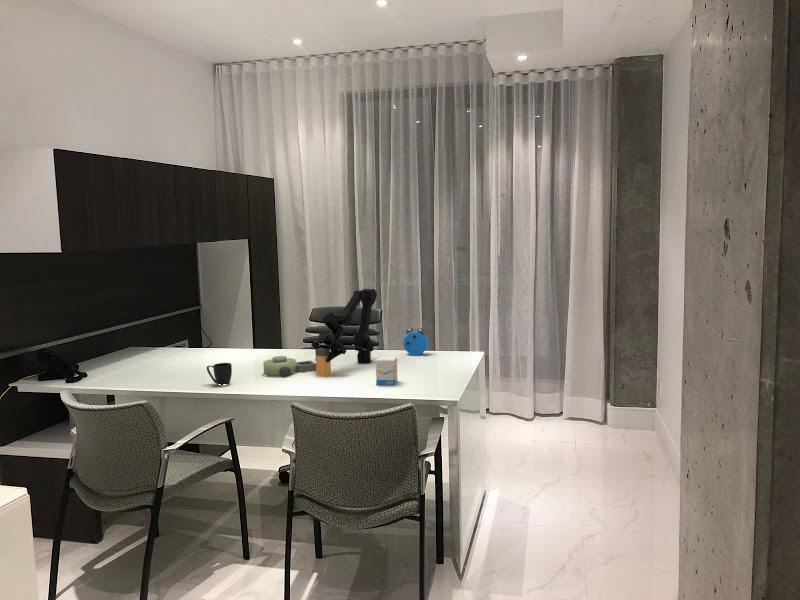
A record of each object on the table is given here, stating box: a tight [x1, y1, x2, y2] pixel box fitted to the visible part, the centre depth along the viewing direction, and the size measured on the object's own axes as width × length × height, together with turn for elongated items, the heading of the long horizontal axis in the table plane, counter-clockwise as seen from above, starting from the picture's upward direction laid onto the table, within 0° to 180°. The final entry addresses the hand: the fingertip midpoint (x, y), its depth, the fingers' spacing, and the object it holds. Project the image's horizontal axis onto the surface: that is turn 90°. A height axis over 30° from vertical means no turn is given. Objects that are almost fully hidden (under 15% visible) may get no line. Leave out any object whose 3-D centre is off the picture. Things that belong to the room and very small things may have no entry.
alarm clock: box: [402, 327, 429, 356], centre depth 360 cm, size 13×6×15 cm, turn 74°
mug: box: [206, 362, 233, 385], centre depth 305 cm, size 8×12×10 cm
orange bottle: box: [314, 348, 332, 377], centre depth 317 cm, size 5×5×13 cm
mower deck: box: [262, 355, 316, 378], centre depth 327 cm, size 26×20×8 cm
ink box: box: [375, 355, 398, 386], centre depth 297 cm, size 9×8×12 cm
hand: (321, 361), depth 315 cm, fingers open, 7 cm apart
